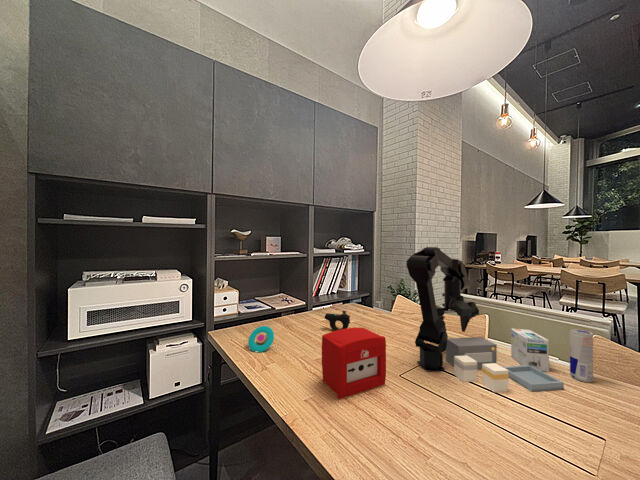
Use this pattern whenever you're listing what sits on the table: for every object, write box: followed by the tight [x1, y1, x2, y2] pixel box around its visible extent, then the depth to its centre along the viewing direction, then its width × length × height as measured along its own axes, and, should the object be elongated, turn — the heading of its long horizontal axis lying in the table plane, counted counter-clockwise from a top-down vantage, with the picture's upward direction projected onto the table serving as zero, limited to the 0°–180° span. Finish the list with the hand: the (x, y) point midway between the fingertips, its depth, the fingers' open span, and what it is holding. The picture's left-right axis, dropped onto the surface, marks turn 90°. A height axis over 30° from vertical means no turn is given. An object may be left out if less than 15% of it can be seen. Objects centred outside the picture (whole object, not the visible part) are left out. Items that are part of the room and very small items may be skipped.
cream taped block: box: [481, 363, 510, 393], centre depth 76 cm, size 5×5×6 cm
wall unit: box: [445, 336, 498, 370], centre depth 90 cm, size 14×8×8 cm, turn 97°
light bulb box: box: [510, 328, 550, 372], centre depth 91 cm, size 11×7×11 cm, turn 168°
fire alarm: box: [321, 327, 387, 400], centre depth 77 cm, size 16×11×15 cm
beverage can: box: [569, 328, 594, 383], centre depth 81 cm, size 5×5×15 cm
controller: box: [324, 310, 351, 331], centre depth 122 cm, size 4×12×10 cm, turn 70°
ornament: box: [248, 325, 275, 353], centre depth 103 cm, size 11×4×10 cm
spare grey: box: [453, 355, 478, 383], centre depth 81 cm, size 5×5×6 cm
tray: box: [502, 365, 565, 393], centre depth 79 cm, size 11×11×2 cm
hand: (452, 332), depth 100 cm, fingers open, 9 cm apart
